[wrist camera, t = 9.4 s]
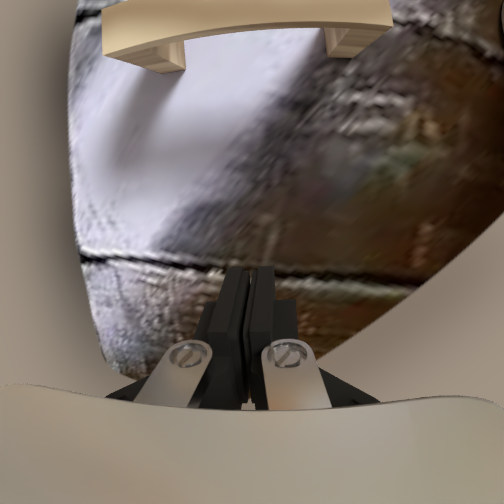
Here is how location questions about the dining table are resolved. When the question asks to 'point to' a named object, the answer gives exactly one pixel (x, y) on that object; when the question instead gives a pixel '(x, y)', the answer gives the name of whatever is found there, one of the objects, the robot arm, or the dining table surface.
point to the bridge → (233, 25)
